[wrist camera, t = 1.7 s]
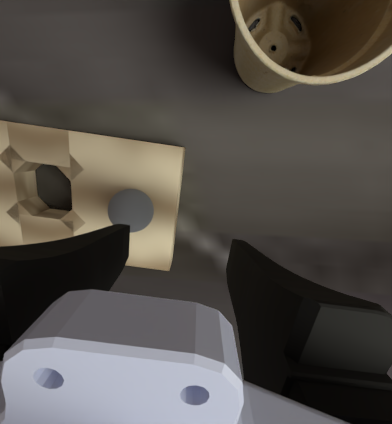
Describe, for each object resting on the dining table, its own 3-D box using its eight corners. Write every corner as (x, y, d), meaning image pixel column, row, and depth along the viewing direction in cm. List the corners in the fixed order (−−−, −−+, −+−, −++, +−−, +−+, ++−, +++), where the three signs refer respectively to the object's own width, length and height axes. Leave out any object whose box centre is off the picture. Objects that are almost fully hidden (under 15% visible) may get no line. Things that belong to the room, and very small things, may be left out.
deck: (172, 258, 22) (169, 270, 20) (19, 238, 22) (-2, 248, 20) (185, 147, 19) (183, 147, 16) (3, 120, 18) (-26, 116, 16)
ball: (156, 225, 19) (146, 242, 15) (117, 220, 19) (99, 236, 15) (159, 188, 18) (149, 197, 14) (118, 182, 17) (98, 190, 14)
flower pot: (196, 88, 17) (192, 33, 9) (243, -48, 15) (299, -303, 6) (291, 130, 18) (367, 115, 10) (352, 9, 16) (525, -149, 7)
